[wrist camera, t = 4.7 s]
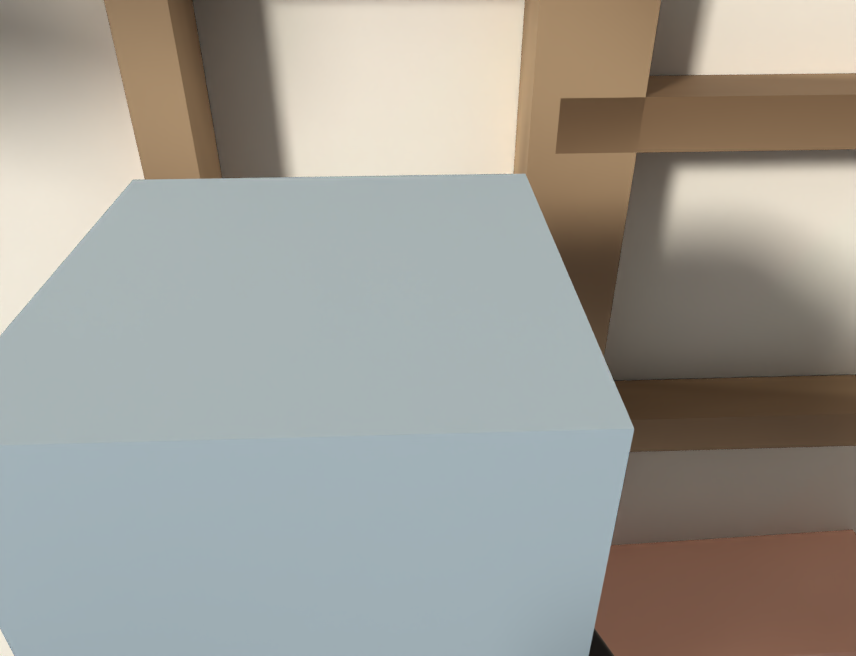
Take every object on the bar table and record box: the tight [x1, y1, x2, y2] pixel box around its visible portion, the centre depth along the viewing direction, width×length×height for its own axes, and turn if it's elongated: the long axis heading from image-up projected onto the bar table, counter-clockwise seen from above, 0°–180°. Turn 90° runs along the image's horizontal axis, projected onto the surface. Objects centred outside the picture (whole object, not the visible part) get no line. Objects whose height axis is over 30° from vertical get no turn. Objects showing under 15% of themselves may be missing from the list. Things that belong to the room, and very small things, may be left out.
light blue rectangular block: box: [0, 174, 634, 656], centre depth 8 cm, size 10×4×4 cm, turn 0°
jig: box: [104, 0, 856, 452], centre depth 16 cm, size 15×22×2 cm
